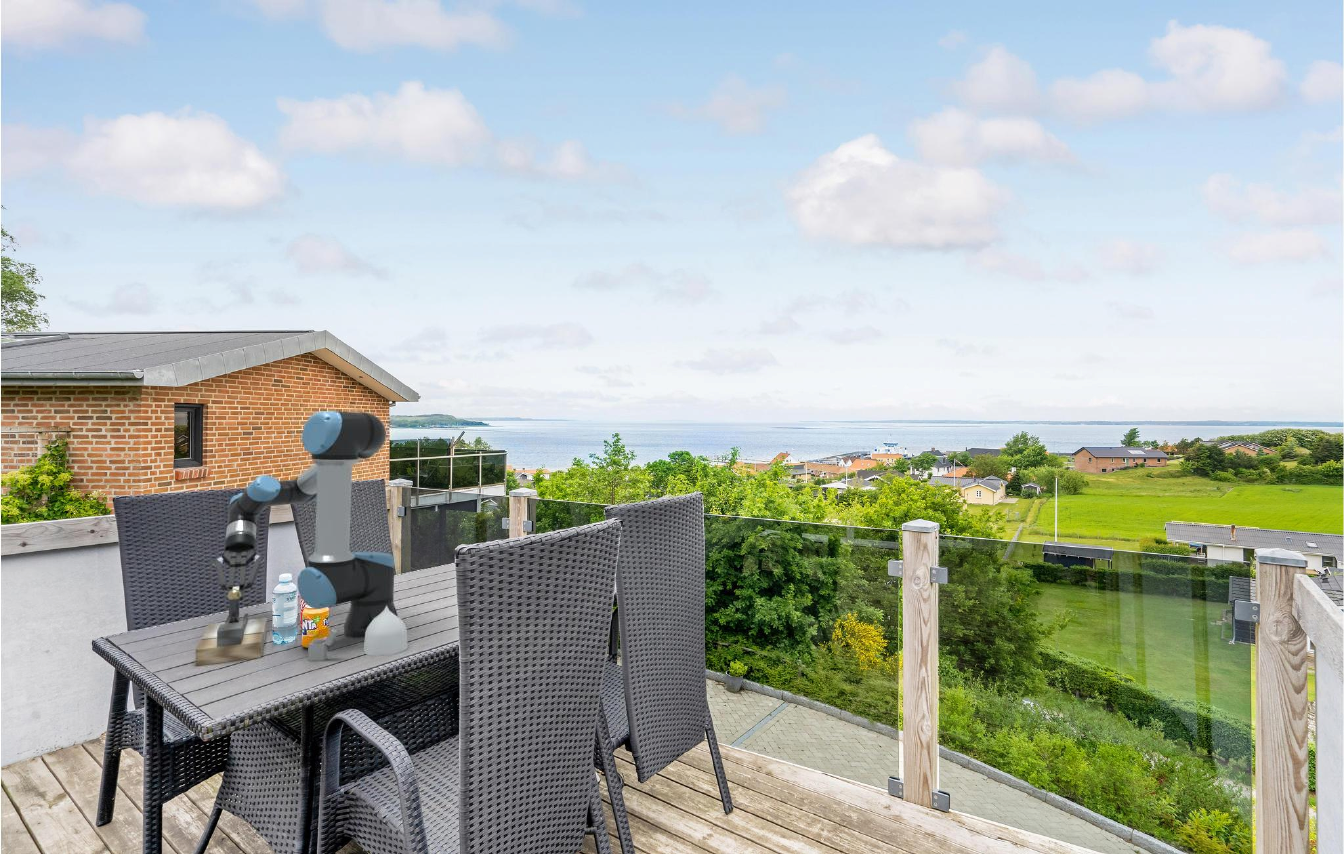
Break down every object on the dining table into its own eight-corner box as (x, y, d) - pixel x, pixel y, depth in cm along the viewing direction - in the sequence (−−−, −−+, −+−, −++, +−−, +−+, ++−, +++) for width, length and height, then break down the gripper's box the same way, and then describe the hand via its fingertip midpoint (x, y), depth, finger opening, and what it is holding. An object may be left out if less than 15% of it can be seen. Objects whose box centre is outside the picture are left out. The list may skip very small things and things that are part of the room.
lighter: (307, 660, 170) (308, 629, 170) (311, 658, 172) (311, 627, 172) (335, 660, 170) (336, 629, 171) (338, 658, 172) (339, 627, 172)
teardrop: (379, 658, 172) (380, 612, 173) (354, 650, 178) (355, 606, 178) (416, 647, 182) (416, 603, 182) (391, 640, 188) (392, 598, 188)
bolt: (240, 629, 181) (241, 587, 181) (236, 641, 171) (237, 597, 171) (227, 630, 180) (228, 588, 180) (222, 643, 169) (223, 598, 169)
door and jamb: (266, 631, 194) (267, 603, 194) (260, 657, 172) (261, 626, 172) (208, 637, 187) (209, 609, 187) (195, 665, 165) (195, 633, 165)
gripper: (266, 545, 202) (262, 613, 187) (215, 548, 195) (206, 619, 181) (266, 530, 197) (261, 599, 182) (213, 533, 191) (204, 604, 176)
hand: (234, 609), depth 182 cm, fingers closed
